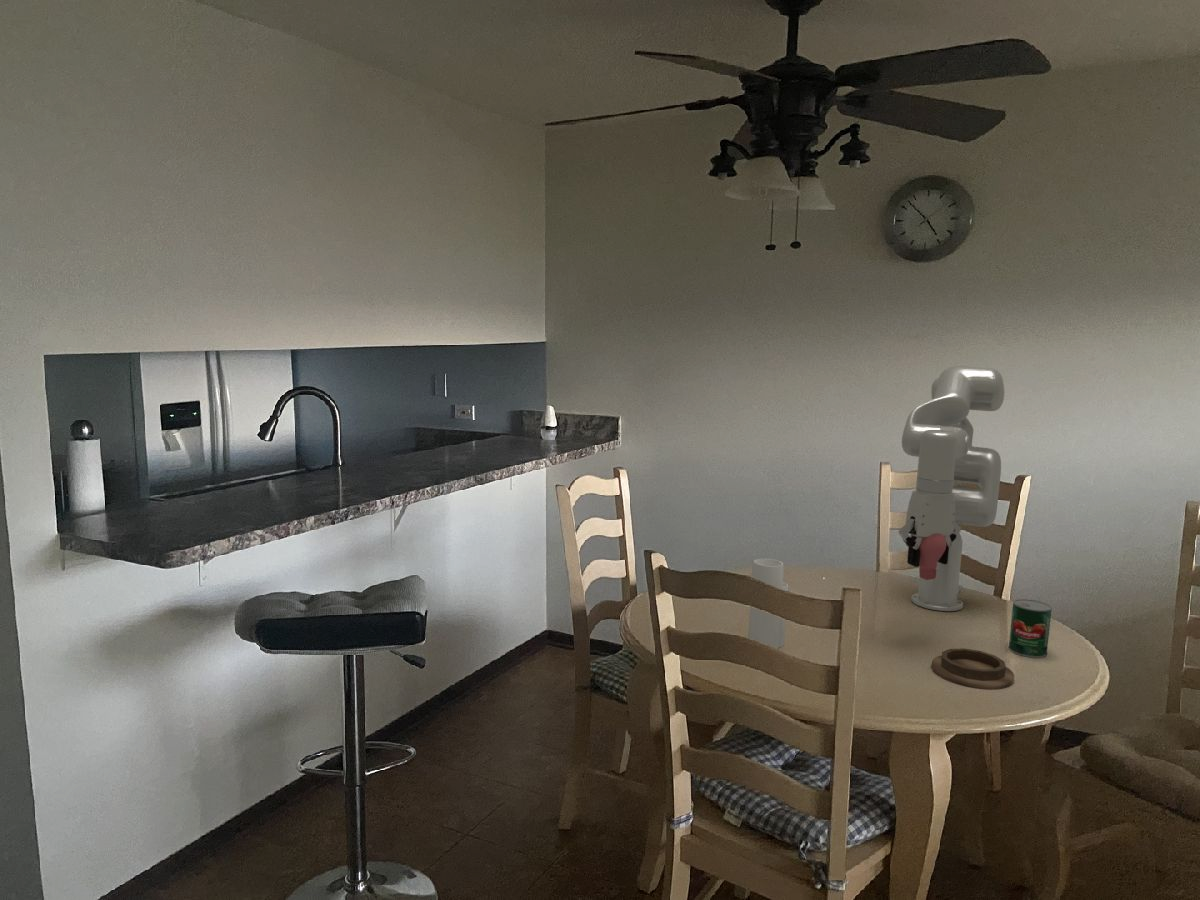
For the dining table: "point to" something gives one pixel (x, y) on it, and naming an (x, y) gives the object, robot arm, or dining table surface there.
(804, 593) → the dining table surface
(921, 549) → the light bulb
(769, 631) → the vase
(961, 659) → the holder
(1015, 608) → the canned tomato
